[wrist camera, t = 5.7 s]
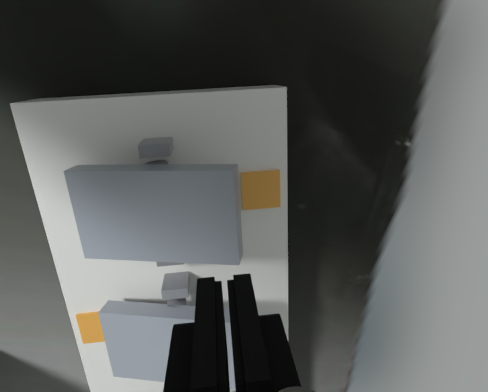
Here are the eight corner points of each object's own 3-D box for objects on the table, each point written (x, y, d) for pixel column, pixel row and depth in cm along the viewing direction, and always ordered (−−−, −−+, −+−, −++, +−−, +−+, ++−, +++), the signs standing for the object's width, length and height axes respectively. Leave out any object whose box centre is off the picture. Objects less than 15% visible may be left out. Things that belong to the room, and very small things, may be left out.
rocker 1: (87, 160, 20) (63, 170, 18) (240, 159, 18) (233, 170, 16) (104, 240, 21) (84, 258, 20) (245, 245, 20) (239, 265, 18)
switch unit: (39, 98, 21) (-12, 107, 16) (275, 84, 23) (294, 88, 18) (122, 430, 32) (106, 498, 27) (281, 410, 33) (294, 471, 28)
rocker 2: (115, 291, 23) (98, 312, 21) (248, 300, 21) (243, 323, 19) (128, 352, 25) (113, 376, 23) (252, 363, 23) (247, 391, 21)
